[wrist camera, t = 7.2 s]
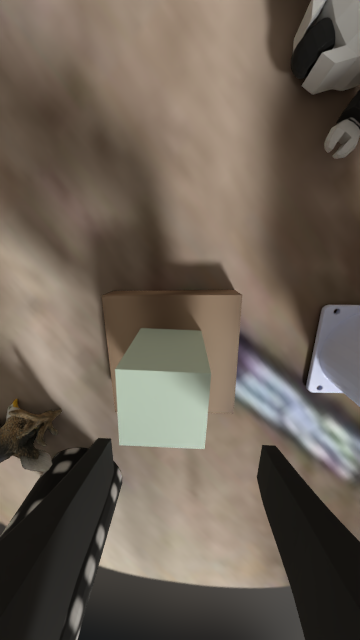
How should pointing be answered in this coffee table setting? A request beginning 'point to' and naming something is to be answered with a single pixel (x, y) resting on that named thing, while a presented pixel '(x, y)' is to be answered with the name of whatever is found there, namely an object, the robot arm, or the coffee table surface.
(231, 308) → the walnut plinth
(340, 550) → the robot arm
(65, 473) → the spotted tube
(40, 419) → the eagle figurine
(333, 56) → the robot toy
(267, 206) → the coffee table surface
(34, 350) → the coffee table surface
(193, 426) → the sage block
